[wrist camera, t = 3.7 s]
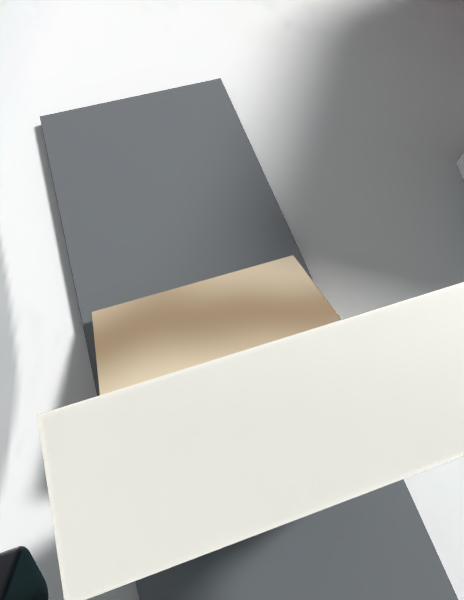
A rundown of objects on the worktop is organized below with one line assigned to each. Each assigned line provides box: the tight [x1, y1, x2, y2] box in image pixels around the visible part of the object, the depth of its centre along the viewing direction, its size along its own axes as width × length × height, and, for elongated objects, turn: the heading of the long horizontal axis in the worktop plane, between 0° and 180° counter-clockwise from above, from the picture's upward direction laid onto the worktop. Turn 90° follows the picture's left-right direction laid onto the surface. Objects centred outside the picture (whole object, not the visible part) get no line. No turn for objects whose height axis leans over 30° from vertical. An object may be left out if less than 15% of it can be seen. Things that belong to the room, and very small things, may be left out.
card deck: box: [37, 282, 464, 600], centre depth 10 cm, size 2×7×10 cm, turn 108°
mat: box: [40, 78, 458, 600], centre depth 17 cm, size 24×9×1 cm, turn 18°
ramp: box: [92, 255, 341, 395], centre depth 15 cm, size 5×8×3 cm, turn 108°
